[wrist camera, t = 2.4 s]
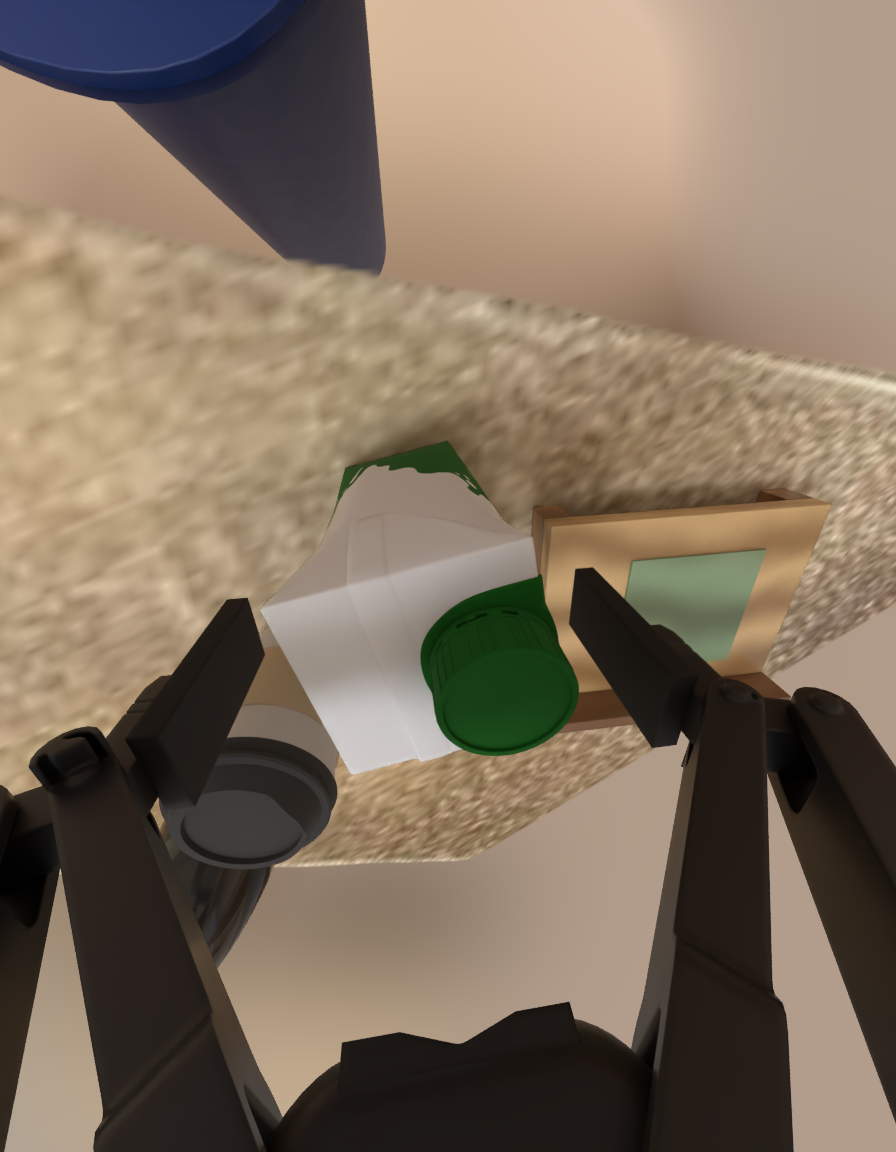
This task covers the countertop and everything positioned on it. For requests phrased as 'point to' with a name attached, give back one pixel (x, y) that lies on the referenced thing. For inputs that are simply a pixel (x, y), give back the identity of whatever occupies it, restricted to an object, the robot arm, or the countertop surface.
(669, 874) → the robot arm
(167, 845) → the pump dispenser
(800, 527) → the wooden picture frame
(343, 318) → the countertop surface
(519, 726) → the soya milk
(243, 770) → the coffee cup
